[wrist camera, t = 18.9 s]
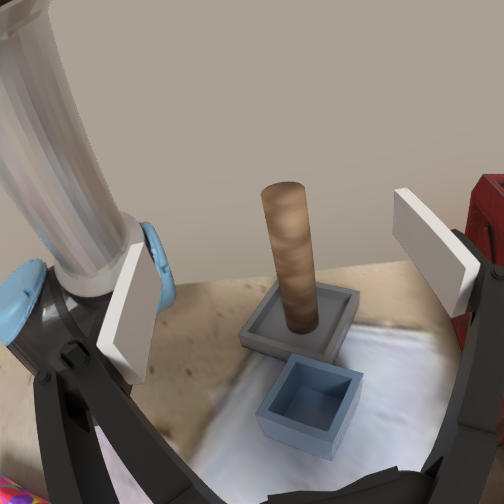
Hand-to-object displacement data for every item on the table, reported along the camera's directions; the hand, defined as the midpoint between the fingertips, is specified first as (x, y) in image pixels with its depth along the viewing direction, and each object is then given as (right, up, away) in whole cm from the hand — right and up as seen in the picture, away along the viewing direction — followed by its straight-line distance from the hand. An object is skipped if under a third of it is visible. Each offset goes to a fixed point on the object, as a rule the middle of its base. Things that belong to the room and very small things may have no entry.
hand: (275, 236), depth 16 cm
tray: (+7, -12, +33) cm, 36 cm away
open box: (+7, -22, +20) cm, 30 cm away
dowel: (+7, -11, +32) cm, 35 cm away
